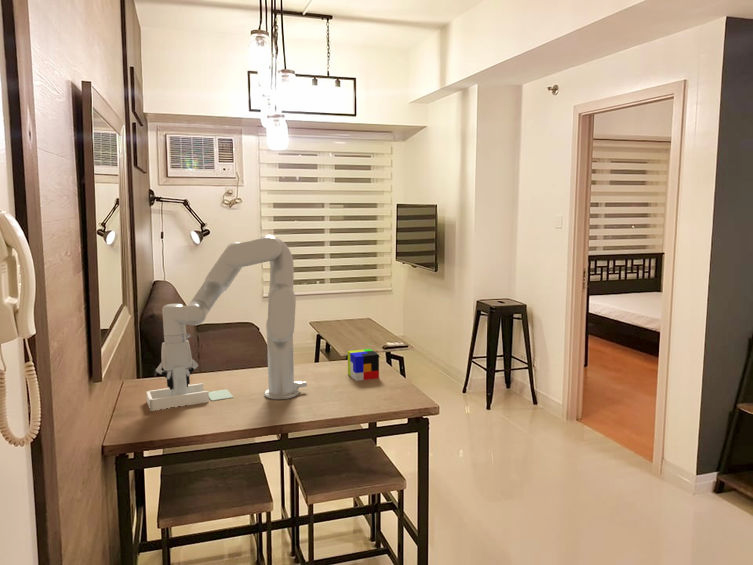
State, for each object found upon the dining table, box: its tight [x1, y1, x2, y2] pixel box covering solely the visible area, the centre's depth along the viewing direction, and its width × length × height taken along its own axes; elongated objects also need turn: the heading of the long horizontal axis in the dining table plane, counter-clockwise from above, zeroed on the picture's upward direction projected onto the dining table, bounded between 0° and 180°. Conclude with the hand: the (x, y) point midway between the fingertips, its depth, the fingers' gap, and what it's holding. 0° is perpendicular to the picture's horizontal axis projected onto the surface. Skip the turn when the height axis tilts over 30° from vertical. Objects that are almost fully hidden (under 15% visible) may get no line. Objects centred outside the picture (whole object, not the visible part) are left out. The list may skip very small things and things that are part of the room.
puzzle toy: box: [347, 348, 380, 382], centre depth 244 cm, size 10×10×10 cm
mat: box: [208, 388, 234, 402], centre depth 222 cm, size 8×10×1 cm
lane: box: [145, 382, 210, 412], centre depth 215 cm, size 20×11×4 cm, turn 117°
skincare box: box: [171, 366, 188, 396], centre depth 214 cm, size 6×4×12 cm
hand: (178, 386), depth 214 cm, fingers closed on skincare box, 4 cm apart
